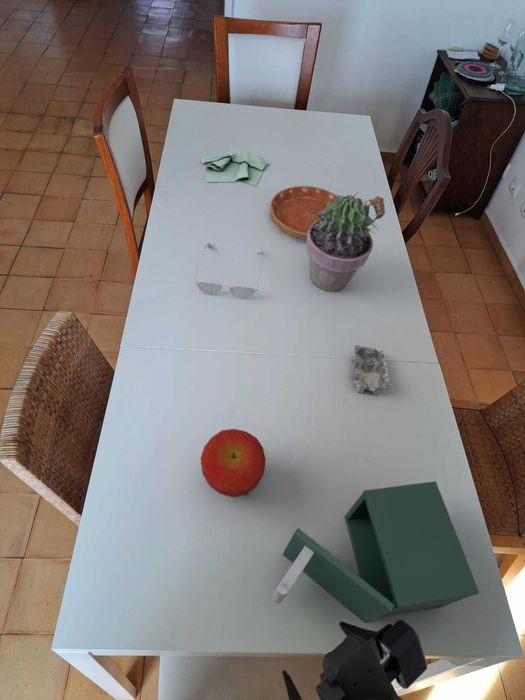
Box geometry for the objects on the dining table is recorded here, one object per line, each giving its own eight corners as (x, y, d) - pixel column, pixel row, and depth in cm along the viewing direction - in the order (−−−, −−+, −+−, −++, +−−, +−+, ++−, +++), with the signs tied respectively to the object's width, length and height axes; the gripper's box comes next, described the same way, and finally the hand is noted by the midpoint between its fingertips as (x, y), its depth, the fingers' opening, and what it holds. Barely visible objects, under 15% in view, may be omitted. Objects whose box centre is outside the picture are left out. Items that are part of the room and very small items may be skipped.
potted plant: (279, 258, 119) (293, 172, 100) (347, 251, 124) (374, 167, 104) (299, 308, 109) (319, 223, 89) (372, 299, 114) (408, 216, 94)
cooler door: (341, 668, 67) (365, 664, 57) (255, 593, 72) (263, 576, 61) (368, 617, 71) (395, 605, 61) (285, 549, 76) (298, 527, 66)
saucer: (254, 224, 127) (255, 213, 124) (291, 186, 140) (293, 175, 137) (327, 257, 122) (330, 246, 119) (359, 214, 135) (362, 203, 132)
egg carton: (383, 398, 96) (389, 388, 93) (348, 391, 96) (353, 381, 93) (383, 358, 103) (389, 347, 99) (350, 352, 103) (355, 341, 100)
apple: (255, 516, 79) (261, 491, 69) (194, 503, 79) (192, 477, 70) (265, 457, 86) (273, 427, 76) (209, 446, 86) (210, 415, 76)
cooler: (371, 619, 71) (398, 607, 61) (344, 516, 80) (364, 490, 70) (441, 607, 73) (479, 592, 63) (407, 507, 82) (435, 481, 72)
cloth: (275, 162, 147) (276, 155, 145) (246, 196, 134) (247, 189, 133) (219, 143, 151) (219, 136, 149) (186, 175, 138) (185, 167, 136)
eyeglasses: (193, 292, 109) (193, 280, 106) (205, 244, 120) (205, 231, 117) (257, 300, 110) (258, 289, 106) (263, 251, 120) (264, 239, 117)
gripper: (450, 626, 45) (350, 553, 59) (303, 770, 38) (228, 649, 52) (473, 707, 48) (373, 619, 62) (340, 856, 41) (260, 719, 54)
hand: (313, 648), depth 57 cm, fingers open, 9 cm apart
